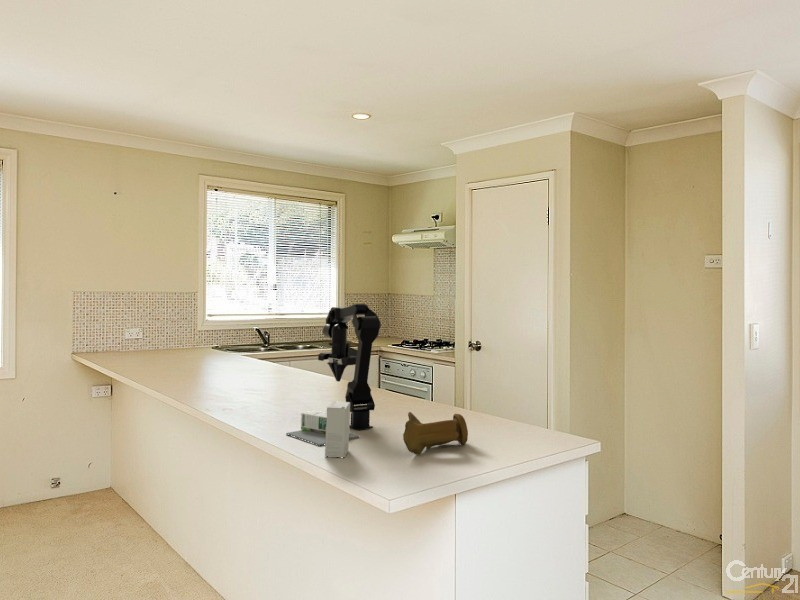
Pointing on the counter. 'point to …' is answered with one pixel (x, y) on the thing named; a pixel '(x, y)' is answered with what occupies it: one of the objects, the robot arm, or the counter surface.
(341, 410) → the skincare box
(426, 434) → the brown flanged cylinder
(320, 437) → the mat
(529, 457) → the counter surface
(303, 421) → the syrup box
